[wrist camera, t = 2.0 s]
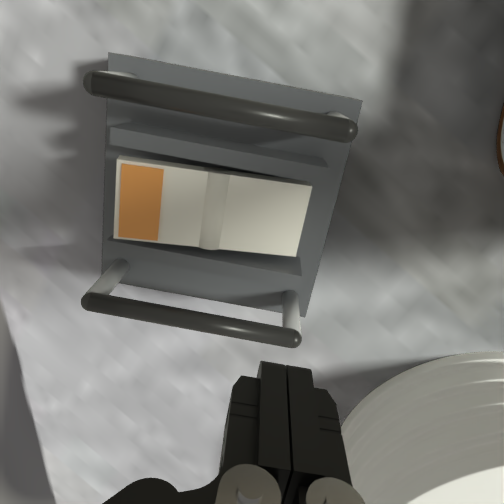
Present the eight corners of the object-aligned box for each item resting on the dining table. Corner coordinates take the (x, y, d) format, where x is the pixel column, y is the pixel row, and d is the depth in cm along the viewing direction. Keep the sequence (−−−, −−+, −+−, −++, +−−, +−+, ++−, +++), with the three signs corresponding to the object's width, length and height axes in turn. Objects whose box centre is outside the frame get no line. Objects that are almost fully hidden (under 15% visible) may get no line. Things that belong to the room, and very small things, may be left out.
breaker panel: (352, 98, 29) (386, 106, 20) (302, 292, 35) (310, 367, 26) (130, 55, 29) (60, 44, 20) (119, 258, 35) (63, 322, 26)
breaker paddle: (306, 180, 27) (313, 187, 26) (290, 247, 29) (296, 258, 28) (120, 154, 25) (115, 160, 23) (117, 229, 27) (112, 240, 25)
